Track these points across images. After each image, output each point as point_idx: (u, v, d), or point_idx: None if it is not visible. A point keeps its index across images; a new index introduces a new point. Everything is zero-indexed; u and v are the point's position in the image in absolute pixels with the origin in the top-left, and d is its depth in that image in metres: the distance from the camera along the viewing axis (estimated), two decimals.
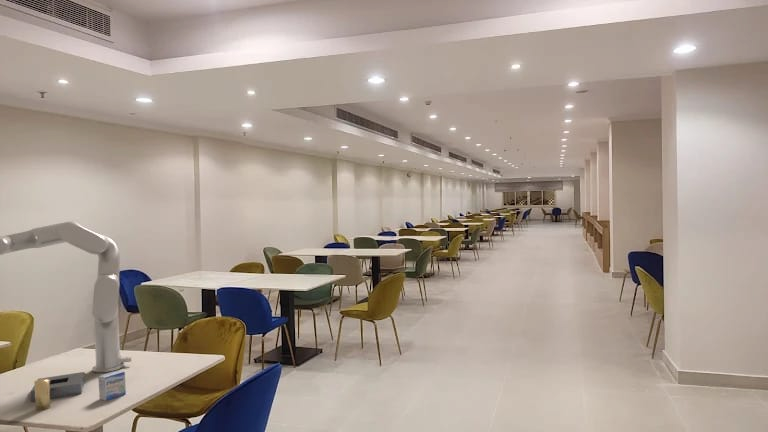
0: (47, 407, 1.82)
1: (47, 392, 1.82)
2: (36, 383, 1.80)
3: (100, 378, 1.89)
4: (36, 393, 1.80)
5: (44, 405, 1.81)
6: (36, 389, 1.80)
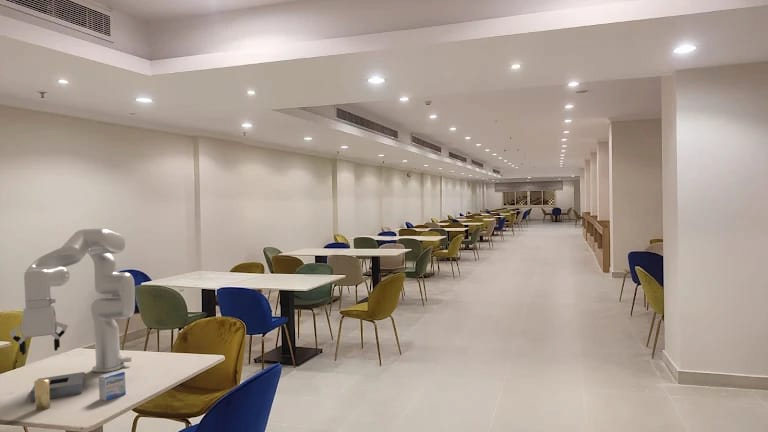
0: (47, 407, 1.82)
1: (47, 392, 1.82)
2: (36, 383, 1.80)
3: (100, 378, 1.89)
4: (36, 393, 1.80)
5: (44, 405, 1.81)
6: (36, 389, 1.80)
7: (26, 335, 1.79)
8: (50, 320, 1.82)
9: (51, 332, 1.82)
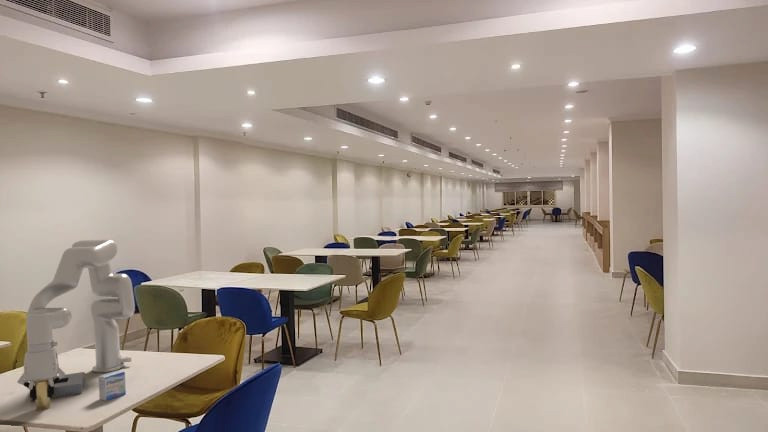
0: (47, 407, 1.82)
1: (47, 392, 1.82)
2: (36, 383, 1.80)
3: (100, 378, 1.89)
4: (36, 393, 1.80)
5: (44, 405, 1.81)
6: (36, 389, 1.80)
7: (28, 379, 1.79)
8: (52, 363, 1.82)
9: (53, 375, 1.82)
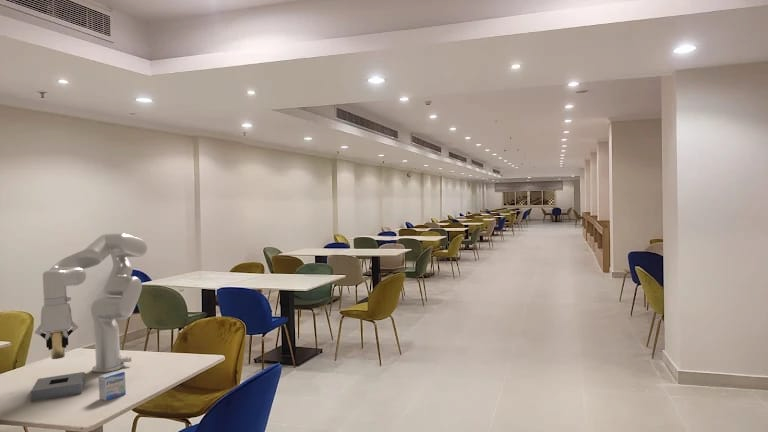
0: (62, 356, 1.99)
1: (62, 342, 1.99)
2: (52, 334, 1.98)
3: (100, 378, 1.89)
4: (52, 343, 1.98)
5: (59, 354, 1.98)
6: (52, 339, 1.98)
7: (45, 330, 1.96)
8: (66, 316, 1.99)
9: (67, 327, 1.99)
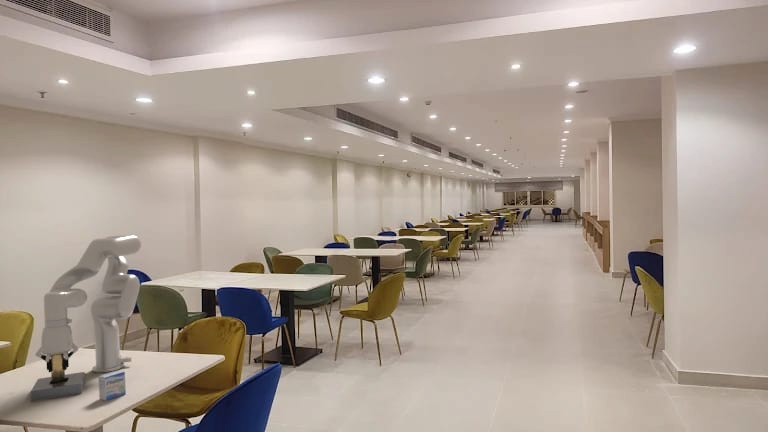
0: (62, 378, 1.99)
1: (62, 364, 1.99)
2: (52, 356, 1.98)
3: (100, 378, 1.89)
4: (52, 365, 1.98)
5: (59, 376, 1.98)
6: (52, 361, 1.98)
7: (45, 352, 1.96)
8: (67, 338, 1.99)
9: (68, 349, 1.99)
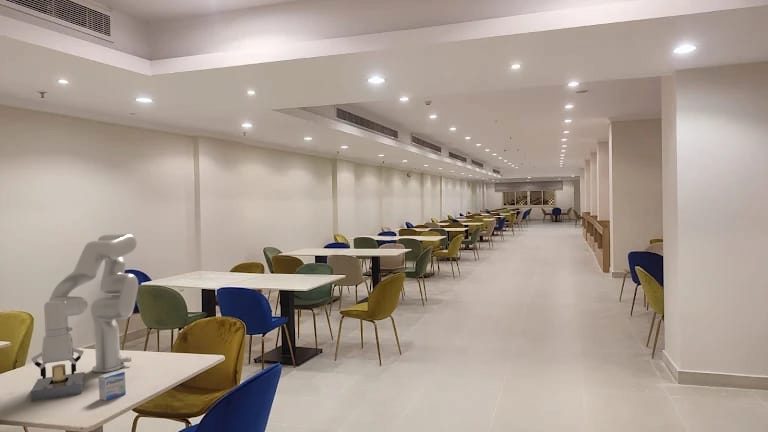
0: None
1: (63, 376, 2.00)
2: (53, 368, 1.98)
3: (100, 378, 1.89)
4: (53, 377, 1.98)
5: None
6: (53, 373, 1.98)
7: (46, 361, 1.96)
8: (68, 347, 1.99)
9: (69, 358, 2.00)
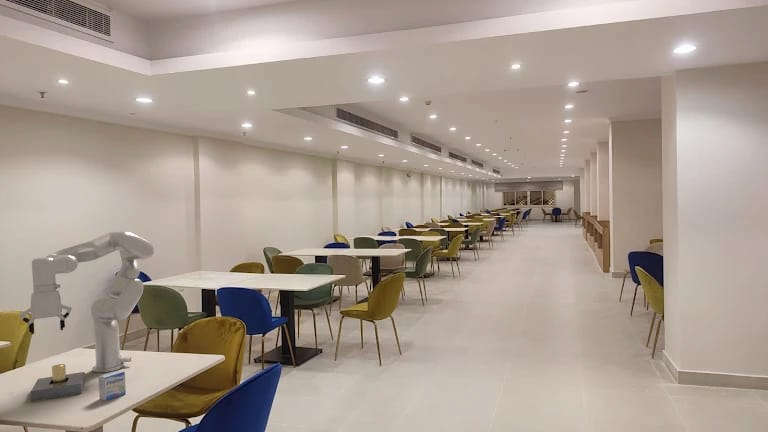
0: None
1: (63, 376, 2.00)
2: (53, 368, 1.98)
3: (100, 378, 1.89)
4: (53, 377, 1.98)
5: None
6: (53, 373, 1.98)
7: (35, 317, 1.99)
8: (56, 303, 2.02)
9: (57, 314, 2.03)
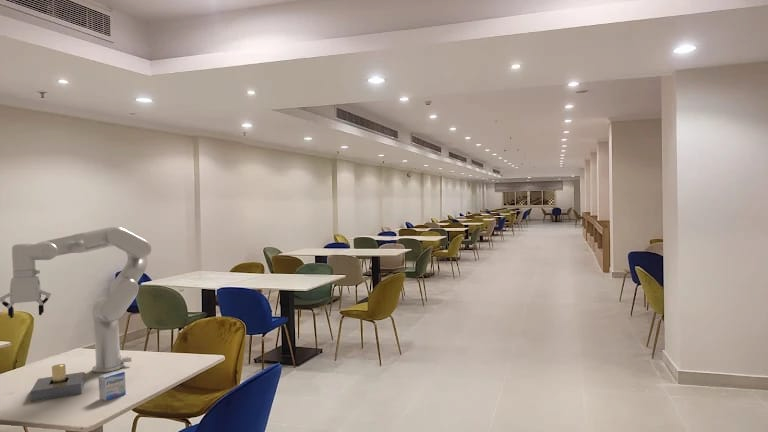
0: None
1: (63, 376, 2.00)
2: (53, 368, 1.98)
3: (100, 378, 1.89)
4: (53, 377, 1.98)
5: None
6: (53, 373, 1.98)
7: (14, 301, 2.04)
8: (35, 288, 2.07)
9: (36, 299, 2.08)
